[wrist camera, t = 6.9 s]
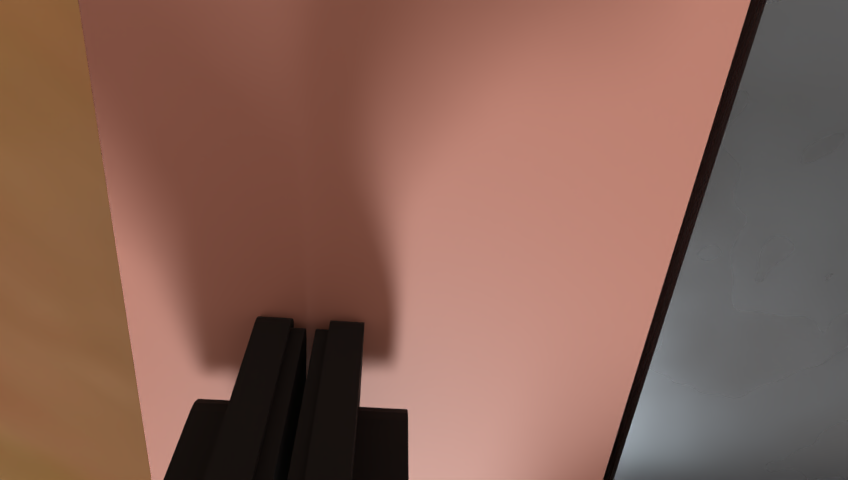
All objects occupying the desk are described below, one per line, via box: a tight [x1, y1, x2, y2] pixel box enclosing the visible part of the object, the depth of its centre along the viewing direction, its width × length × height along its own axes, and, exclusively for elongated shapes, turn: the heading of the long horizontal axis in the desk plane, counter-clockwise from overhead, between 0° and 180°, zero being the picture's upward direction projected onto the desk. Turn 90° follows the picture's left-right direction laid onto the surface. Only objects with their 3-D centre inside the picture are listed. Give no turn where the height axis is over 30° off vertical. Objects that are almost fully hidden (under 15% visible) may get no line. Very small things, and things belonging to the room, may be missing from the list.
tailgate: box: [78, 0, 751, 480], centre depth 12 cm, size 1×22×8 cm
